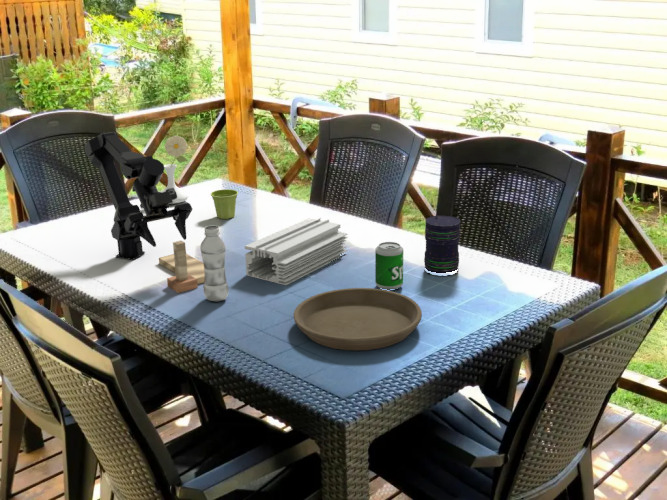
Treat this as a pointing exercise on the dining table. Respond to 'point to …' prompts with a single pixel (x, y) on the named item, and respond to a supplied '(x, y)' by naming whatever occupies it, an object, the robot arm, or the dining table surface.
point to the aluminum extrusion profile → (295, 251)
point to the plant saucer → (357, 318)
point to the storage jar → (442, 244)
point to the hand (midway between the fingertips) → (170, 242)
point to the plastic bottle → (214, 265)
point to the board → (193, 266)
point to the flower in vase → (175, 148)
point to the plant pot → (225, 203)
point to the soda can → (389, 265)
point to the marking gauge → (181, 270)
